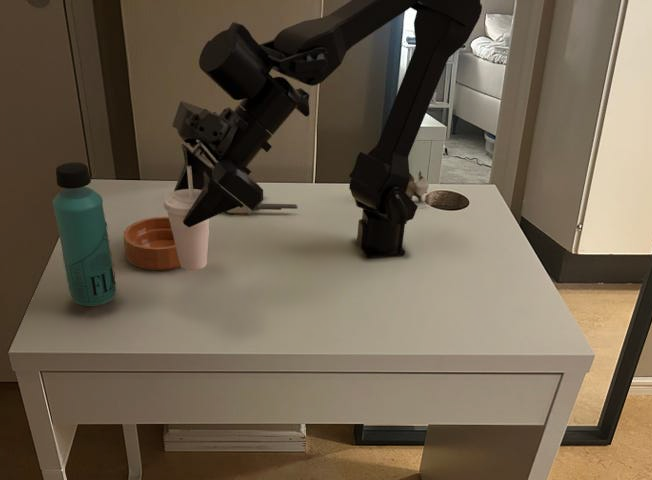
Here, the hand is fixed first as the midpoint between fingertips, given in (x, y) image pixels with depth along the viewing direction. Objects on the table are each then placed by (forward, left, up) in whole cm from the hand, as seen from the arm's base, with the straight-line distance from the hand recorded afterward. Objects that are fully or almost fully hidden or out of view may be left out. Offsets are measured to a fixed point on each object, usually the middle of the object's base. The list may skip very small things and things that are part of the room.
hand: (178, 214), depth 92 cm
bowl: (+3, -14, -13) cm, 19 cm away
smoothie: (-1, 0, -8) cm, 8 cm away
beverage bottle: (+13, -1, -13) cm, 18 cm away
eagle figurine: (-41, -28, -13) cm, 52 cm away
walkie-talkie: (-12, -31, -13) cm, 36 cm away
